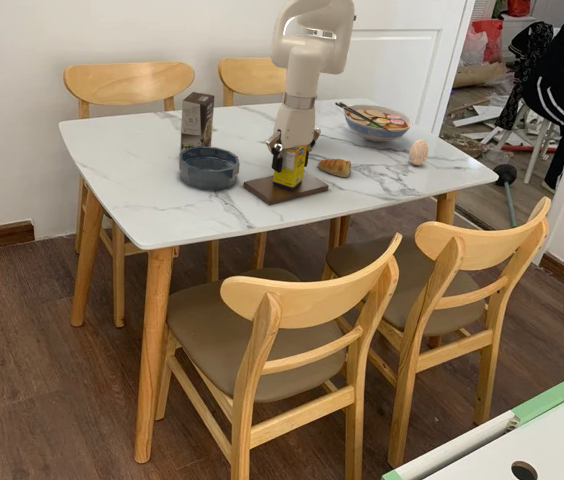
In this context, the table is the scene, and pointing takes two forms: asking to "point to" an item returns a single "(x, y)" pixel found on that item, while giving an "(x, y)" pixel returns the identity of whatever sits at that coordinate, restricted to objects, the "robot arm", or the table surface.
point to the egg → (418, 152)
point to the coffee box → (197, 120)
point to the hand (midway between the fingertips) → (289, 167)
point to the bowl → (208, 167)
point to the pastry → (335, 167)
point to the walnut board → (278, 193)
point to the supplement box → (291, 167)
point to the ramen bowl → (376, 121)
